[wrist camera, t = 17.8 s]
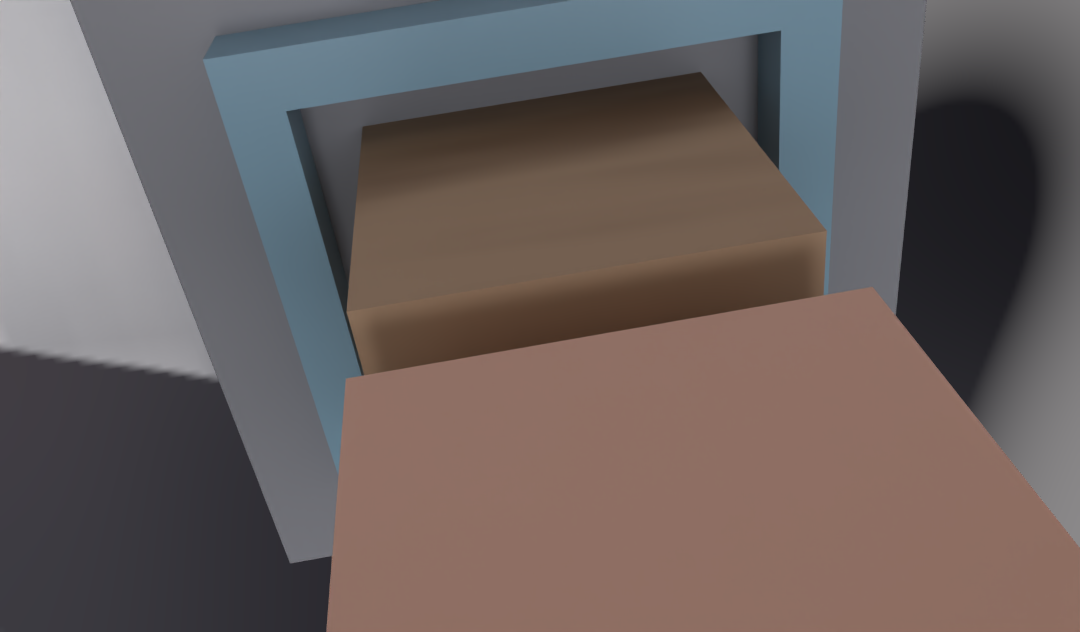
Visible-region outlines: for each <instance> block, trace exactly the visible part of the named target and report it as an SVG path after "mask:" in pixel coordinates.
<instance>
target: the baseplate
mask: <svg viewBox="0 0 1080 632" xmlns="http://www.w3.org/2000/svg"><path fill="white" fill-rule="evenodd" d="M70 1H71V4H72V6H73V9H74V11H75V14H76V16H77V19H78V22H79V24H80V27H81V29H82V32H83V34H84V37H85V40H86V42H87V45H88V47H89V50H90V52H91V55H92V57H93V60H94V63H95V65H96V68H97V70H98V73H99V75H100V78H101V80H102V83H103V86H104V88H105V91H106V93H107V96H108V98H109V101H110V103H111V106H112V109H113V111H114V114H115V116H116V119H117V121H118V124H119V126H120V129H121V132H122V134H123V137H124V139H125V142H126V144H127V147H128V150H129V152H130V155H131V157H132V160H133V162H134V165H135V167H136V170H137V173H138V175H139V178H140V180H141V183H142V185H143V188H144V190H145V193H146V196H147V198H148V201H149V203H150V206H151V208H152V211H153V213H154V216H155V219H156V221H157V224H158V226H159V229H160V231H161V234H162V237H163V239H164V242H165V244H166V247H167V249H168V252H169V254H170V257H171V260H172V262H173V265H174V267H175V270H176V272H177V275H178V277H179V280H180V283H181V285H182V288H183V290H184V293H185V295H186V298H187V300H188V303H189V306H190V308H191V311H192V313H193V316H194V318H195V321H196V323H197V326H198V329H199V331H200V334H201V336H202V339H203V341H204V344H205V347H206V349H207V352H208V354H209V357H210V359H211V362H212V364H213V367H214V370H215V372H216V375H217V377H218V380H219V382H220V385H221V387H222V390H223V393H224V395H225V398H226V400H227V403H228V405H229V408H230V410H231V413H232V416H233V418H234V421H235V423H236V426H237V428H238V431H239V433H240V436H241V439H242V441H243V443H244V446H245V449H246V451H247V454H248V457H249V459H250V462H251V464H252V467H253V469H254V472H255V474H256V477H257V480H258V482H259V485H260V487H261V490H262V492H263V495H264V497H265V500H266V503H267V505H268V507H269V510H270V512H271V515H272V518H273V520H274V523H275V526H276V528H277V531H278V533H279V536H280V538H281V541H282V544H283V546H284V549H285V551H286V554H287V556H288V559H289V561H290V563H295V562H300V561H306V560H312V559H317V558H323V557H328V556H332V554H333V540H334V527H335V514H336V501H337V488H338V475H339V462H340V449H341V436H342V422H343V409H344V396H345V383H346V378H352V377H358V376H364V372H363V369H362V365H361V362H360V358H359V354H358V351H357V347H356V344H355V340H354V337H353V333H352V329H351V326H350V322H349V319H348V315H347V301H348V289H349V278H350V266H351V255H352V243H353V231H354V220H355V208H356V197H357V185H358V174H359V162H360V151H361V139H362V128H363V126H369V125H375V124H381V123H388V122H394V121H400V120H406V119H412V118H419V117H425V116H431V115H437V114H443V113H449V112H456V111H462V110H468V109H474V108H480V107H486V106H493V105H499V104H505V103H511V102H517V101H524V100H530V99H536V98H542V97H548V96H554V95H561V94H567V93H573V92H579V91H585V90H592V89H598V88H604V87H610V86H616V85H622V84H629V83H635V82H641V81H647V80H653V79H659V78H666V77H672V76H678V75H684V74H690V73H697V72H701V73H702V74H703V75H704V76H705V78H706V79H707V80H708V82H709V83H710V84H711V85H712V87H713V88H714V89H715V90H716V92H717V93H718V94H719V95H720V97H721V98H722V99H723V100H724V102H725V103H726V104H727V105H728V107H729V108H730V109H731V111H732V112H733V113H734V114H735V116H736V117H737V118H738V119H739V121H740V122H741V123H742V124H743V126H744V127H745V128H746V129H747V131H748V132H749V133H750V134H751V136H752V137H753V138H754V140H755V141H756V142H757V143H758V145H759V146H760V147H761V148H762V150H763V151H764V152H765V153H766V155H767V156H768V157H769V158H770V160H771V161H772V162H773V163H774V165H775V166H776V167H777V169H778V170H779V171H780V172H781V174H782V175H783V176H784V177H785V179H786V180H787V181H788V182H789V184H790V185H791V186H792V187H793V189H794V190H795V191H796V192H797V194H798V195H799V196H800V198H801V199H802V200H803V201H804V203H805V204H806V205H807V206H808V208H809V209H810V210H811V211H812V213H813V214H814V215H815V216H816V218H817V219H818V220H819V221H820V223H821V224H822V225H823V227H824V228H825V229H826V230H827V239H826V258H825V278H824V295H828V294H834V293H840V292H845V291H851V290H857V289H863V288H868V287H873V288H874V289H875V290H876V292H877V293H878V294H879V295H880V297H881V298H882V299H883V301H884V302H885V303H886V304H887V306H888V307H889V308H890V309H891V311H892V312H893V313H894V314H895V316H896V306H897V295H898V286H899V275H900V266H901V255H902V245H903V234H904V225H905V215H906V205H907V195H908V184H909V174H910V164H911V154H912V143H913V134H914V124H915V113H916V103H917V93H918V83H919V72H920V63H921V53H922V43H923V33H924V22H925V12H926V2H927V0H70Z"/></svg>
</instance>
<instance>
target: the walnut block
mask: <svg viewBox="0 0 1080 632" xmlns="http://www.w3.org/2000/svg"><path fill="white" fill-rule="evenodd" d="M826 239H827V230H826V229H825V228H824V227H823V225H822V224H821V223H820V221H819V220H818V219H817V218H816V216H815V215H814V214H813V213H812V211H811V210H810V209H809V208H808V206H807V205H806V204H805V203H804V201H803V200H802V199H801V198H800V196H799V195H798V194H797V192H796V191H795V190H794V189H793V187H792V186H791V185H790V184H789V182H788V181H787V180H786V179H785V177H784V176H783V175H782V174H781V172H780V171H779V170H778V169H777V167H776V166H775V165H774V163H773V162H772V161H771V160H770V158H769V157H768V156H767V155H766V153H765V152H764V151H763V150H762V148H761V147H760V146H759V145H758V143H757V142H756V141H755V140H754V138H753V137H752V136H751V134H750V133H749V132H748V131H747V129H746V128H745V127H744V126H743V124H742V123H741V122H740V121H739V119H738V118H737V117H736V116H735V114H734V113H733V112H732V111H731V109H730V108H729V107H728V105H727V104H726V103H725V102H724V100H723V99H722V98H721V97H720V95H719V94H718V93H717V92H716V90H715V89H714V88H713V87H712V85H711V84H710V83H709V82H708V80H707V79H706V78H705V76H704V75H703V74H702V73H701V72H697V73H690V74H684V75H678V76H672V77H666V78H659V79H653V80H647V81H641V82H635V83H629V84H622V85H616V86H610V87H604V88H598V89H592V90H585V91H579V92H573V93H567V94H561V95H554V96H548V97H542V98H536V99H530V100H524V101H517V102H511V103H505V104H499V105H493V106H486V107H480V108H474V109H468V110H462V111H456V112H449V113H443V114H437V115H431V116H425V117H419V118H412V119H406V120H400V121H394V122H388V123H381V124H375V125H369V126H363V128H362V139H361V151H360V162H359V174H358V185H357V197H356V208H355V220H354V231H353V243H352V255H351V266H350V278H349V289H348V301H347V315H348V319H349V322H350V326H351V329H352V333H353V337H354V340H355V344H356V347H357V351H358V354H359V358H360V362H361V365H362V369H363V372H364V375H369V374H375V373H381V372H387V371H392V370H398V369H404V368H410V367H415V366H421V365H427V364H432V363H438V362H444V361H450V360H455V359H461V358H467V357H473V356H478V355H484V354H490V353H496V352H501V351H507V350H513V349H518V348H524V347H530V346H536V345H541V344H547V343H553V342H559V341H564V340H570V339H576V338H582V337H587V336H593V335H599V334H604V333H610V332H616V331H622V330H627V329H633V328H639V327H645V326H650V325H656V324H662V323H668V322H673V321H679V320H685V319H690V318H696V317H702V316H708V315H713V314H719V313H725V312H731V311H736V310H742V309H748V308H754V307H759V306H765V305H771V304H777V303H782V302H788V301H794V300H799V299H805V298H811V297H817V296H822V295H824V278H825V258H826Z"/></svg>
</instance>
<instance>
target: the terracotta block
mask: <svg viewBox="0 0 1080 632" xmlns="http://www.w3.org/2000/svg"><path fill="white" fill-rule="evenodd" d="M327 632H1080V548H1079V547H1078V545H1077V544H1076V543H1075V541H1074V540H1073V539H1072V538H1071V536H1070V535H1069V534H1068V532H1067V531H1066V530H1065V529H1064V527H1063V526H1062V525H1061V524H1060V522H1059V521H1058V520H1057V519H1056V517H1055V516H1054V515H1053V514H1052V512H1051V511H1050V510H1049V508H1048V507H1047V506H1046V505H1045V504H1044V502H1043V501H1042V500H1041V499H1040V497H1039V496H1038V495H1037V493H1036V492H1035V491H1034V490H1033V488H1032V487H1031V486H1030V485H1029V483H1028V482H1027V481H1026V480H1025V478H1024V477H1023V476H1022V474H1021V473H1020V472H1019V471H1018V469H1017V468H1016V467H1015V466H1014V464H1013V463H1012V462H1011V461H1010V459H1009V458H1008V457H1007V456H1006V454H1005V453H1004V452H1003V451H1002V449H1001V448H1000V447H999V445H998V444H997V443H996V442H995V440H994V439H993V438H992V437H991V436H990V434H989V433H988V432H987V430H986V429H985V428H984V427H983V425H982V424H981V423H980V422H979V420H978V419H977V418H976V416H975V415H974V414H973V413H972V412H971V410H970V409H969V408H968V406H966V404H965V403H964V401H963V400H962V399H961V398H960V396H959V395H958V394H957V393H956V391H955V390H954V389H953V387H952V386H951V385H950V384H949V383H948V381H947V380H946V379H945V377H944V376H943V375H942V374H941V372H940V371H939V370H938V369H937V367H936V366H935V365H934V364H933V362H932V361H931V360H930V358H929V357H928V356H927V355H926V353H925V352H924V351H923V350H922V348H921V347H920V346H919V345H918V343H917V342H916V341H915V340H914V339H913V337H912V336H911V335H910V333H909V332H908V331H907V330H906V328H905V327H904V326H903V324H902V323H901V322H900V321H899V319H898V318H897V317H896V316H895V314H894V313H893V312H892V311H891V309H890V308H889V307H888V306H887V304H886V303H885V302H884V301H883V299H882V298H881V297H880V295H879V294H878V293H877V292H876V290H875V289H874V288H873V287H868V288H863V289H857V290H851V291H845V292H840V293H834V294H828V295H822V296H817V297H811V298H805V299H799V300H794V301H788V302H782V303H777V304H771V305H765V306H759V307H754V308H748V309H742V310H736V311H731V312H725V313H719V314H713V315H708V316H702V317H696V318H690V319H685V320H679V321H673V322H668V323H662V324H656V325H650V326H645V327H639V328H633V329H627V330H622V331H616V332H610V333H604V334H599V335H593V336H587V337H582V338H576V339H570V340H564V341H559V342H553V343H547V344H541V345H536V346H530V347H524V348H518V349H513V350H507V351H501V352H496V353H490V354H484V355H478V356H473V357H467V358H461V359H455V360H450V361H444V362H438V363H432V364H427V365H421V366H415V367H410V368H404V369H398V370H392V371H387V372H381V373H375V374H369V375H364V376H358V377H352V378H346V383H345V396H344V409H343V422H342V436H341V449H340V462H339V475H338V488H337V501H336V514H335V527H334V540H333V554H332V567H331V580H330V593H329V606H328V619H327Z"/></svg>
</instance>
